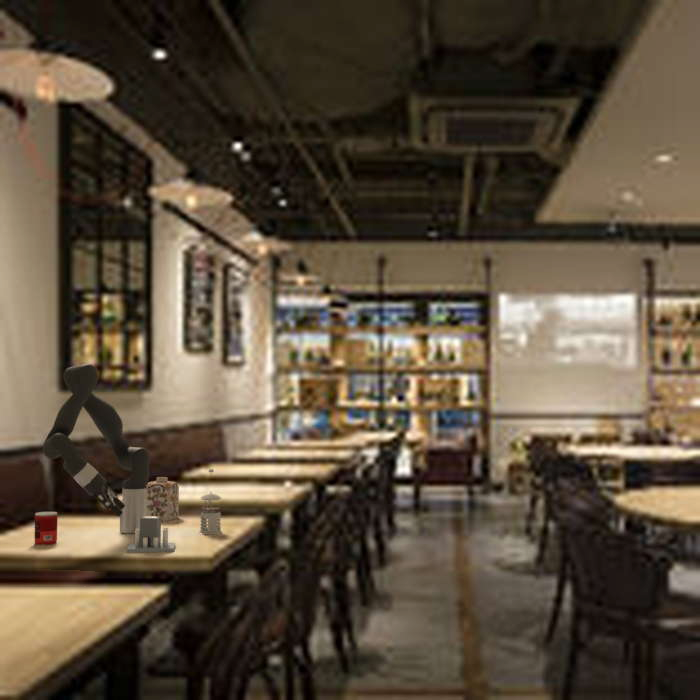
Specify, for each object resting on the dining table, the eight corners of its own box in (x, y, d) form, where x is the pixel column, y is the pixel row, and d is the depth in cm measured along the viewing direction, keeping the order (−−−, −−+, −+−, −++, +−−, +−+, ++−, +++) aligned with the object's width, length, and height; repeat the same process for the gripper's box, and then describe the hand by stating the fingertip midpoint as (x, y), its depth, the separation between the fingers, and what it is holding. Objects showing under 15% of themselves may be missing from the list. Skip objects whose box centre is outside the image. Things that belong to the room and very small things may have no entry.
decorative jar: (143, 520, 407) (144, 478, 408) (153, 516, 419) (154, 475, 419) (170, 521, 405) (170, 478, 406) (179, 517, 417) (180, 476, 417)
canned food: (61, 542, 351) (61, 512, 351) (47, 545, 343) (48, 515, 344) (43, 541, 353) (44, 511, 354) (29, 544, 346) (30, 513, 346)
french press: (202, 535, 368) (203, 470, 369) (193, 531, 379) (193, 468, 380) (226, 533, 373) (227, 469, 374) (216, 529, 383) (217, 467, 384)
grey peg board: (126, 552, 331) (126, 531, 331) (130, 546, 343) (130, 526, 343) (173, 551, 333) (173, 530, 333) (175, 545, 345) (175, 525, 345)
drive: (139, 546, 335) (140, 517, 336) (144, 544, 340) (144, 515, 341) (156, 547, 335) (156, 518, 335) (160, 544, 340) (161, 516, 340)
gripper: (84, 481, 344) (116, 513, 346) (78, 491, 330) (112, 524, 332) (100, 467, 344) (131, 498, 347) (95, 476, 330) (128, 509, 333)
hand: (122, 511), depth 339 cm, fingers open, 8 cm apart
